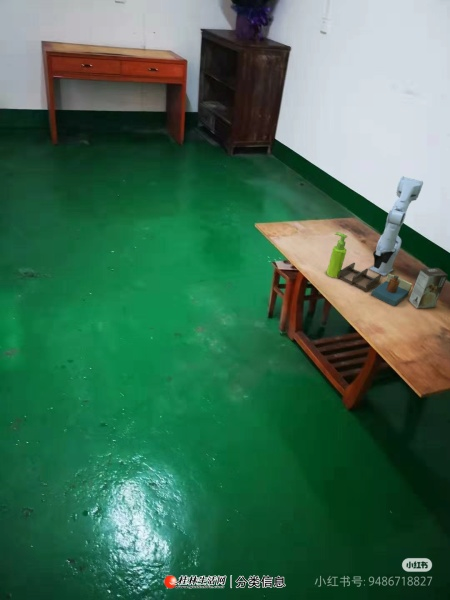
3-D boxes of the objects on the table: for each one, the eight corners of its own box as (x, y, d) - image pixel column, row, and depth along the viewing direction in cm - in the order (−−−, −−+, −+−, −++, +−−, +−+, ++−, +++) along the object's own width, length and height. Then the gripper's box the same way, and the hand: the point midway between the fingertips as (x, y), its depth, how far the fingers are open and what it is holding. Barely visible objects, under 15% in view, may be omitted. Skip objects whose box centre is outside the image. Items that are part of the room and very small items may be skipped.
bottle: (389, 286, 201) (394, 272, 197) (397, 290, 199) (403, 276, 195) (384, 289, 198) (389, 275, 194) (393, 294, 196) (398, 279, 192)
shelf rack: (351, 269, 216) (353, 262, 214) (379, 282, 208) (381, 275, 206) (337, 278, 208) (339, 270, 206) (365, 292, 200) (368, 284, 198)
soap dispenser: (328, 269, 214) (338, 230, 203) (341, 274, 211) (352, 235, 200) (322, 273, 210) (332, 233, 199) (335, 279, 207) (346, 239, 196)
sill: (385, 284, 207) (389, 273, 204) (408, 295, 202) (412, 283, 198) (370, 295, 198) (374, 283, 195) (394, 306, 192) (398, 294, 189)
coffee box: (425, 299, 200) (438, 267, 192) (434, 307, 195) (448, 275, 186) (408, 300, 198) (420, 268, 189) (416, 308, 193) (430, 276, 184)
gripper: (390, 245, 188) (381, 273, 196) (405, 236, 197) (395, 263, 205) (375, 239, 192) (366, 267, 199) (390, 230, 201) (381, 257, 209)
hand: (380, 265), depth 202 cm, fingers open, 7 cm apart
